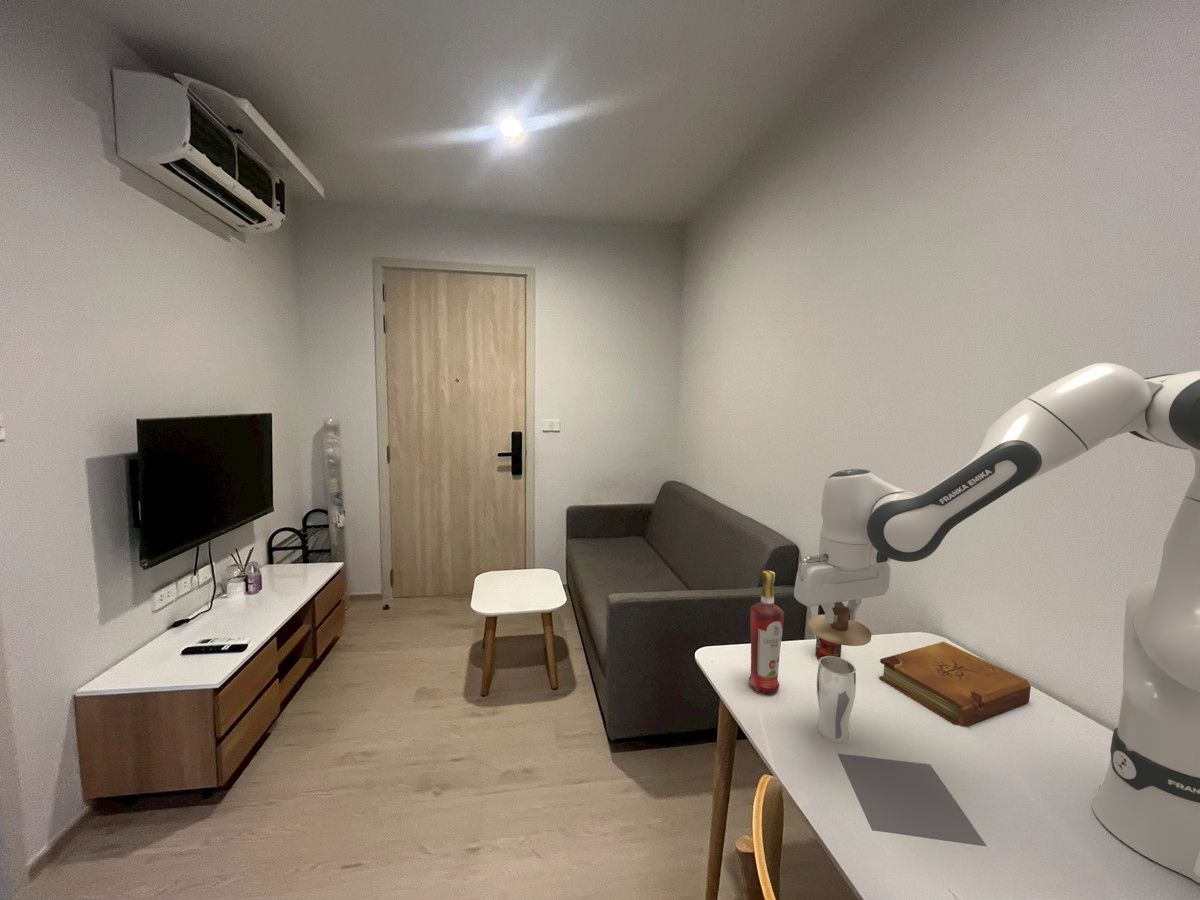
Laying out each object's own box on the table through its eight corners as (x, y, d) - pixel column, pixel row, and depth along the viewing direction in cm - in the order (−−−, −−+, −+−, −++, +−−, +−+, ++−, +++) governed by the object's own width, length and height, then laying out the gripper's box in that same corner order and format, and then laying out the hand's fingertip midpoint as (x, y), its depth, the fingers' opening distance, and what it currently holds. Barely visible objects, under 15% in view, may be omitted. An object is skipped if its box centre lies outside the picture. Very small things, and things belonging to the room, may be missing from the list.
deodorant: (810, 654, 124) (813, 600, 122) (827, 649, 126) (830, 596, 125) (828, 666, 119) (832, 609, 117) (845, 661, 121) (849, 605, 119)
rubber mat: (930, 767, 86) (930, 764, 86) (986, 849, 70) (986, 845, 70) (837, 756, 89) (837, 753, 89) (871, 833, 73) (872, 829, 73)
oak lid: (857, 620, 97) (859, 598, 96) (881, 648, 86) (883, 623, 85) (801, 616, 98) (803, 594, 98) (818, 643, 87) (819, 619, 87)
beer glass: (857, 749, 90) (862, 677, 89) (818, 744, 92) (823, 672, 90) (846, 725, 97) (850, 657, 95) (810, 720, 98) (814, 653, 97)
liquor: (768, 676, 114) (773, 565, 111) (786, 694, 107) (792, 577, 104) (741, 680, 113) (745, 568, 110) (758, 699, 106) (763, 579, 102)
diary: (961, 732, 96) (963, 706, 95) (878, 681, 113) (880, 659, 113) (1028, 705, 104) (1031, 681, 104) (942, 661, 122) (943, 640, 121)
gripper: (812, 563, 84) (808, 636, 86) (898, 552, 90) (893, 620, 92) (788, 552, 90) (785, 620, 92) (870, 542, 96) (866, 606, 98)
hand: (839, 620), depth 92 cm, fingers closed on oak lid, 3 cm apart
